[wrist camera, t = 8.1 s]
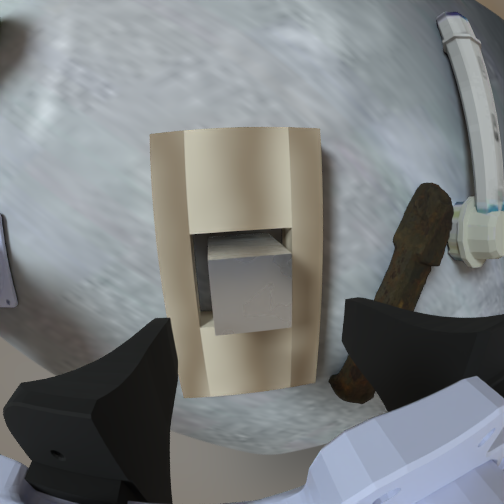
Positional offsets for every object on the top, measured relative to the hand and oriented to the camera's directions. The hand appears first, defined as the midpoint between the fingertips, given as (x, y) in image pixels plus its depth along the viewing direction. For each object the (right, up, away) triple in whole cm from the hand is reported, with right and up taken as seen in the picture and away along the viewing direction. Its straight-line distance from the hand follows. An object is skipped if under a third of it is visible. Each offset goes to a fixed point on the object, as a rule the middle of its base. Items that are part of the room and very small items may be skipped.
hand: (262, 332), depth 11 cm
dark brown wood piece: (+10, 0, +11) cm, 15 cm away
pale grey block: (-1, +2, +9) cm, 9 cm away
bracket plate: (-1, +2, +9) cm, 9 cm away
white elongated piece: (+19, +15, +9) cm, 26 cm away
